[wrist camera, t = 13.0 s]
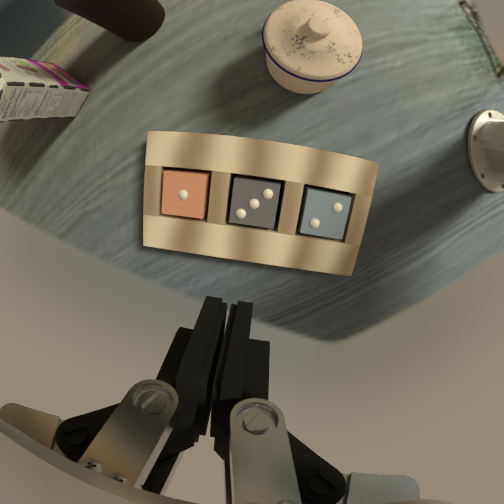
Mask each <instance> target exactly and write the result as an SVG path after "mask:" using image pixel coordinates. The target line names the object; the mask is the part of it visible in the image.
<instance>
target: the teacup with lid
mask: <svg viewBox="0 0 504 504" xmlns="http://www.w3.org/2000/svg"><path fill="white" fill-rule="evenodd" d="M262 41H263V45H264V48H265V50H266V63H267V67H268V70H269V72H270V74H271V76H272V77H273V79H274V80H275V81H276V82H277V83H278V84H280V85H281V86H282V87H284V88H286V89H287V90H290V91H292V92H295V93H300V94H314V93H318V92H321V91H323V90H325V89H327V88H329V87H330V86H331V85H332V84H333V83H334V82H336V81H337V80H338V79H340V78H342V77H344V76H346V75H347V74H349V73H350V72H351V71H352V70H353V69H354V68H355V67H356V66H357V64H358V63H359V60H360V58H361V55H362V39H361V35H360V32H359V30H358V28H357V26H356V25H355V23H354V22H353V21H352V19H351V18H350V17H349V16H348V15H347V14H346V13H344V12H343V11H342V10H340V9H339V8H337V7H335V6H333V5H331V4H329V3H326V2H323V1H319V0H294V1H290V2H287V3H285V4H283V5H281V6H279V7H278V8H276V9H275V10H274V11H273V12H272V13H271V14H270V15H269V16H268V18H267V19H266V21H265V23H264V26H263V31H262Z"/></svg>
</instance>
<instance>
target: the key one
mask: <svg viewBox="0 0 504 504" xmlns="http://www.w3.org/2000/svg"><path fill="white" fill-rule="evenodd" d="M211 178H212V172H208V171H198V170H188V169H176V168H172V169H168V170H165V171H164V177H163V193H162V214H169V215H177V216H185V217H193V218H201V219H203V218H204V217H205V216H206V214H207V213H208V208H209V197H210V187H211Z"/></svg>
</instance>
